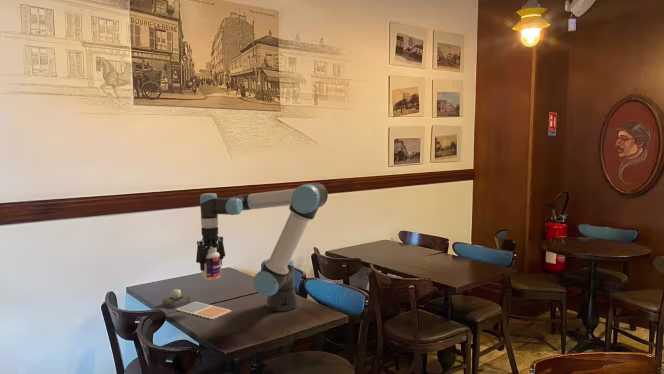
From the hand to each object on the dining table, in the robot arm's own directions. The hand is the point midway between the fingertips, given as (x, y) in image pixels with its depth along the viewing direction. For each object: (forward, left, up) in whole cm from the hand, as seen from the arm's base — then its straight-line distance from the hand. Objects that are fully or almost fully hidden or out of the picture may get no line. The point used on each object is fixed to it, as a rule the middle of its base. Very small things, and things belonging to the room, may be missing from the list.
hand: (211, 274), depth 222 cm
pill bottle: (0, 0, -2) cm, 2 cm away
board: (+3, +3, -17) cm, 18 cm away
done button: (+22, +3, -14) cm, 27 cm away
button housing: (+22, +3, -17) cm, 28 cm away
